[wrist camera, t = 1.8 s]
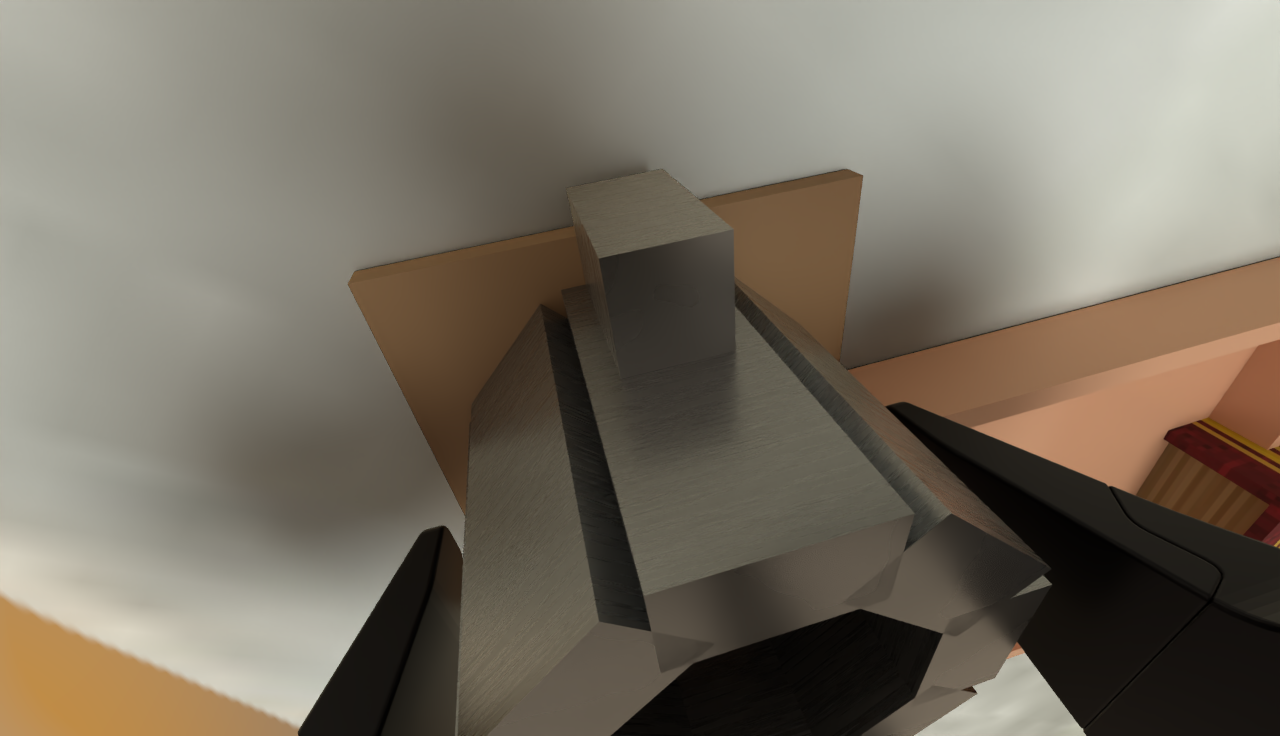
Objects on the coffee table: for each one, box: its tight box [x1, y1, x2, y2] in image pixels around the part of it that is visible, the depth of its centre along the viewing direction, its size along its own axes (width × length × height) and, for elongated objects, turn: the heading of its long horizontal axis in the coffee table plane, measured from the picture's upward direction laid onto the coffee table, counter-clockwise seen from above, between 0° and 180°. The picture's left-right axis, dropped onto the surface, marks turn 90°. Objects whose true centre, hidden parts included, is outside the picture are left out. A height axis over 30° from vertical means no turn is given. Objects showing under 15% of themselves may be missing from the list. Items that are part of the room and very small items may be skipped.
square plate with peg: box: [348, 169, 863, 515], centre depth 10 cm, size 9×9×4 cm
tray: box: [848, 257, 1280, 659], centre depth 17 cm, size 15×15×2 cm
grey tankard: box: [455, 169, 1052, 736], centre depth 8 cm, size 9×7×6 cm
